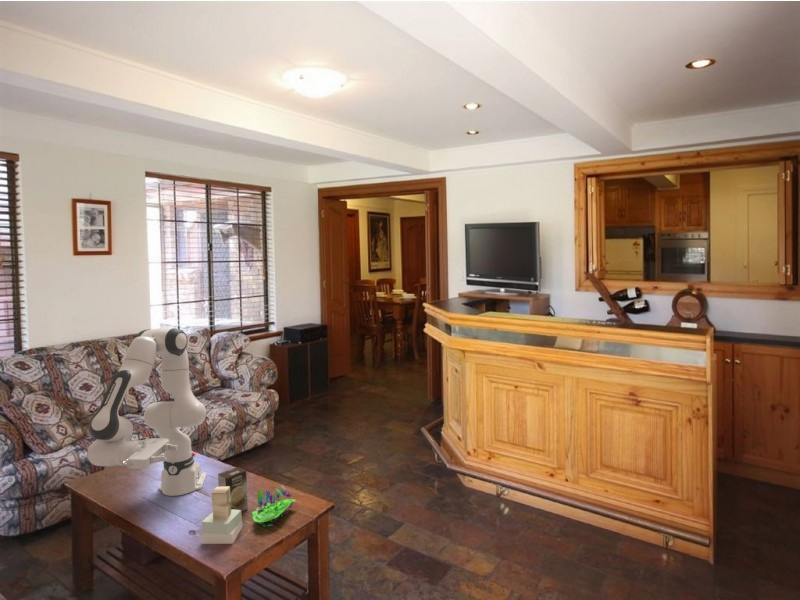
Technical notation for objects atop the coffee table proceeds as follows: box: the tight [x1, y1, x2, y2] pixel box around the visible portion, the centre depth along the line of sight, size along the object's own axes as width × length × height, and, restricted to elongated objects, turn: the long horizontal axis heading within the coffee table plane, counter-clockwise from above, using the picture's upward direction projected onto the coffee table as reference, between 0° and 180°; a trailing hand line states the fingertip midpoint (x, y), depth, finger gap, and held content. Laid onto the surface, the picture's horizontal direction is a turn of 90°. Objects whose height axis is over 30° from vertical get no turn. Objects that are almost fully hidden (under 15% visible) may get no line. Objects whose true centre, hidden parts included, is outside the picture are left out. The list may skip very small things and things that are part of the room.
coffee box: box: [217, 466, 249, 513], centre depth 213 cm, size 9×6×16 cm
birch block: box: [211, 486, 231, 519], centre depth 195 cm, size 5×5×10 cm
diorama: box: [251, 485, 297, 527], centre depth 208 cm, size 14×20×12 cm
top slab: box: [201, 509, 243, 535], centre depth 196 cm, size 10×10×4 cm
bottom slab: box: [201, 520, 243, 545], centre depth 196 cm, size 11×11×4 cm
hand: (171, 453), depth 197 cm, fingers open, 8 cm apart
